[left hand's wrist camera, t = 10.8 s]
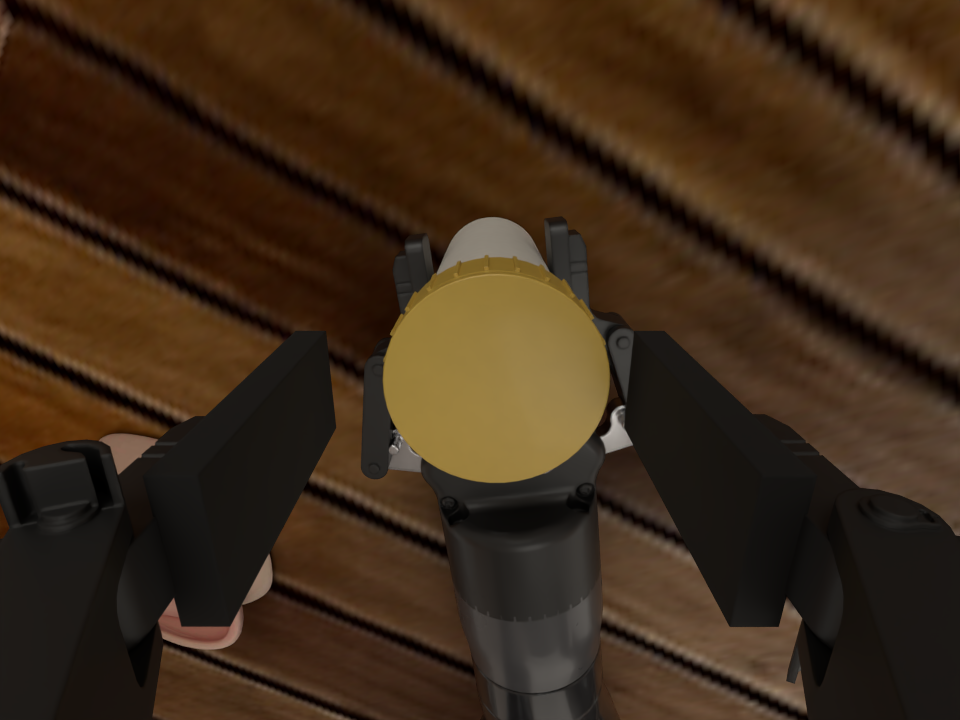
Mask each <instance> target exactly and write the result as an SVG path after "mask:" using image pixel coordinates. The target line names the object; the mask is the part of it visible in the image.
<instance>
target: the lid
mask: <svg viewBox="0 0 960 720" xmlns="http://www.w3.org/2000/svg"><path fill="white" fill-rule="evenodd" d="M405 311H406V312H405V314H404V315H403V314H401V315H400V317H399V319H398V320H397V322H396V324H395V326H394V328H393V329H392V331H391V333H390V335H391V336H392V338H391V340H390V343H389V346H388V349H387V352H386V355H385V357H384V360H383V362H384V366H383V390H384V397H385V401H386V405H387V409H388V411H389V414H390V416H391V419H392V421H393V423H394V425H395V426H396V428H397V430H398V432H399V433H400V435H401V436H402V437H403V439H404V440H405V441H406V443H407V444H408V445H409V446H410V447H411V448H412V449H413V450H414V451H415V452H416V453H417V454H418V455H420V456H421V457H422V458H423V459H424V460H426V461H427V462H429V463H430V464H432V465H433V466H435V467H437V468H438V469H440V470H442V471H445V472H447V473H449V474H451V475H454V476H457V477H460V478H463V479H467V480H472V481H476V482H486V483H507V482H515V481H520V480H525V479H529V478H532V477H535V476H538V475H541V474H543V473H546V472H548V471H550V470H552V469H554V468H556V467H557V466H559V465H560V464H562V463H563V462H565V461H566V460H568V459H569V458H570V457H571V456H573V455H574V454H575V453H576V452H577V451H578V450H579V449H580V448H581V447H582V446H583V445H584V444H585V443H586V442H587V441H588V439H589V438H590V436H591V435H592V434H593V432H594V431H595V429H596V427H597V426H598V424H599V422H600V420H601V418H602V415H603V413H604V410H605V407H606V404H607V400H608V395H609V389H610V367H609V360H608V356H607V351H606V348H605V345H606V343H605V340H604V339H603V337H602V335H601V334H600V332H599V331H598V329H597V327H596V326H595V324H594V323H593V321H592V320H593V319H594V317H593V315H592V314H591V312H590V311H589V309H588V308H587V306H586V304H585V303H584V301H583V300H582V299H580V300H579V299H578V298H577V297H576V295H575V294H574V293H573V291H572V289H571V288H570V286H569V285H568V283H567V281H566V280H565V279H563V280H562V281H561V280H560V279H559V278H557V277H556V276H555V275H553V274H552V273H550V272H549V271H547V270H545V268H544V266H543V265H541V264H540V265H539V266H537V265H534V264H532V263H529V262H526V261H522V260H518V259H517V257H516V256H513V258H504V257H489V255H485V256H484V258H479V259H473V260H469V261H466V262H463V263H461V261H458V262H457V264H456V265H455V266H453V267H450V268H448V269H446V270H445V271H443V272H441V273H440V274H438V275H437V274H436V273H435V274H433V275H432V278H431V280H430V281H429V282H428V283H427V284H425V286H424V287H423V288H422V289H421V290H420V291H419V292H418V293H417V292H416V291H415V292H414V293H413V295H412V297H411V299H410V301H409V302H408V304H407V306H406V308H405Z"/></svg>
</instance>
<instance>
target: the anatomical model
mask: <svg viewBox="0 0 960 720" xmlns="http://www.w3.org/2000/svg"><path fill="white" fill-rule="evenodd" d="M157 440H158V439H154V438H150V437H145V436H139V435H133V434H122V433H120V434H111V435H107V436H105V437H103V438H101V439H100V440H99V441H102V442H104V443H105V444H107V445H109V446H110V447H111V451H112V455H113V458H114V462H115V466H116V469H117V473H118V475H119V474H120V473H121V472H122V471H123V470H124V469H125V468H127V467H128V466H129V465H130V464H131V463H132V462H133V461H135V460H136V459H137V458H141V454H143V453H144V452H145V451H146V450H147V449H148V448H149V447H151V446H152V445H155V442H156V441H157ZM272 577H273V572H272V563H271V558H270V554H269V555H268V557H267V559H266V560H265V562H264V564H263V566H262V568H261V570H260V572H259V574H258V575H257V577H256V579H255V581H254V583H253V585H252V587H251V589H250V591H249V592H248V594H247V596H246V598H245V600H244V602H243V604H246V603H250V602H252V601H255V600H257V599H259V598H260V597H262V596H263V595H264V594H266V593H267V591H268V590H269V589H270V587H271V584H272ZM243 604H242V605H243ZM158 621H159V625H160V629H161V632H162V638H163V639H166V640H168V641H171V642H173V643H176V644H179V645H182V646H186V647H191V648H197V649H220V648H224V647H227V646H229V645H231V644H233V643H234V642H235V641H236V640H237V639H238V637H239V635H240V633H241V630H242V626H243V608H242V606H241V607H240V609H239V611H238V613H237V615H236V617H235V619H234V621H233V622H232V624H231V626H230V627H181V623H180V620H179V616H178V612H177V608H176V604H175V600H174V598H173V600H172V601H171V603H170V604H169V606H168V607H167V608H166V610H165V611H164V613H163V614H162V616H161V617H160V618H159V620H158Z"/></svg>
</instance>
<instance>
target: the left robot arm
mask: <svg viewBox="0 0 960 720" xmlns="http://www.w3.org/2000/svg"><path fill="white" fill-rule="evenodd" d="M335 429H336V422H335V412H334V403H333V394H332V384H331V375H330V365H329V356H328V346H327V337H326V331H295V332H294V333H293V334H292V335H291V336H290V337H289V338H288V339H287V340H286V341H285V342H284V343H283V344H281V345H280V346H279V347H278V348H277V349H276V350H275V351H274V352H273V353H272V354H271V355H270V356H269V357H268V358H267V359H266V360H265V361H263V362H262V363H261V364H260V365H259V366H258V367H257V368H256V369H255V370H254V371H253V372H252V373H251V374H250V375H249V376H248V377H246V378H245V379H244V380H243V381H242V382H241V383H240V384H239V385H238V386H237V387H236V388H235V389H234V390H233V391H232V392H231V393H230V394H228V395H227V396H226V397H225V398H224V399H223V400H222V401H221V402H220V403H219V404H218V405H217V406H216V407H215V408H214V409H213V410H212V411H210V412H209V413H208V414H207V415H206V416H195V417H193V418H191V419H189V420H187V421H185V422H183V423H181V424H179V425H177V426H175V427H173V428H171V429H170V430H169V431H168V432H166V433H165V434H164V435H163V436H162V437H161V438H160V439H159V440H157V441H156V442H155V445H152V446H151V447H149V448H148V449H147V450H146V451H145V452H144V453H143V454H141V458H137V459H136V460H135V461H133V462H132V463H131V464H130V465H129V466H128V467H127V468H125V469H124V470H123V471H122V472H121V473H120V474H119V475H118V473H117V469H116V466H115V462H114V458H113V455H112V451H111V447H110V446H109V445H107V444H105V443H104V442H102V441H94V440H77V441H66V442H61V443H57V444H52V445H48V446H44V447H41V448H38V449H35V450H32V451H29V452H27V453H24V454H21V455H19V456H17V457H15V458H13V459H11V460H10V461H8V462H6V463H4V464H2V465H1V466H0V503H1V506H2V509H3V511H4V514H5V517H6V519H7V522H8V525H9V530H8V532H7V533H6V535H5V537H4V538H3V539H0V720H152V714H153V708H154V701H155V695H156V688H157V682H158V675H159V669H160V662H161V656H162V649H163V638H162V632H161V629H160V625H159V621H158V620H159V618H160V617H161V616H162V614H163V613H164V611H165V610H166V608H167V607H168V606H169V604H170V603H171V601H172V600H173V598H174V600H175V604H176V608H177V612H178V616H179V620H180V623H181V627H230V626H231V624H232V622H233V621H234V619H235V617H236V615H237V613H238V611H239V609H240V607H241V606H242V604H243V602H244V600H245V598H246V596H247V594H248V592H249V591H250V589H251V587H252V585H253V583H254V581H255V579H256V577H257V575H258V574H259V572H260V570H261V568H262V566H263V564H264V562H265V560H266V559H267V557H268V555H269V553H270V551H271V549H272V547H273V545H274V544H275V542H276V540H277V538H278V536H279V534H280V532H281V530H282V528H283V527H284V525H285V523H286V521H287V519H288V517H289V515H290V513H291V512H292V510H293V508H294V506H295V504H296V502H297V500H298V498H299V497H300V495H301V493H302V491H303V489H304V487H305V485H306V483H307V481H308V480H309V478H310V476H311V474H312V472H313V470H314V468H315V466H316V465H317V463H318V461H319V459H320V457H321V455H322V453H323V451H324V450H325V448H326V446H327V444H328V442H329V440H330V438H331V436H332V434H333V433H334V431H335ZM624 429H625V431H626V433H627V434H628V436H629V438H630V440H631V442H632V444H633V446H634V448H635V450H636V451H637V453H638V455H639V457H640V459H641V461H642V463H643V465H644V466H645V468H646V470H647V472H648V474H649V476H650V478H651V480H652V481H653V483H654V485H655V487H656V489H657V491H658V493H659V495H660V497H661V498H662V500H663V502H664V504H665V506H666V508H667V510H668V512H669V513H670V515H671V517H672V519H673V521H674V523H675V525H676V527H677V528H678V530H679V532H680V534H681V536H682V538H683V540H684V542H685V544H686V545H687V547H688V549H689V551H690V553H691V555H692V557H693V559H694V560H695V562H696V564H697V566H698V568H699V570H700V572H701V574H702V575H703V577H704V579H705V581H706V583H707V585H708V587H709V589H710V591H711V592H712V594H713V596H714V598H715V600H716V602H717V604H718V606H719V607H720V609H721V611H722V613H723V615H724V617H725V619H726V621H727V622H728V624H729V626H730V627H779V623H780V619H781V616H782V612H783V608H784V604H785V600H786V596H787V597H788V598H789V600H790V601H791V603H792V604H793V605H794V607H795V608H796V610H797V611H798V613H799V614H800V615H801V617H802V621H801V625H800V629H799V632H798V636H797V639H796V643H795V647H794V650H793V654H792V658H791V661H790V665H789V668H788V674H787V680H786V681H788V682H791V683H794V684H795V681H796V677H797V674H798V672H799V671H800V670H801V674H802V680H803V687H804V693H805V700H806V706H807V713H808V719H809V720H960V536H956V535H955V534H954V532H953V531H952V529H951V527H950V526H949V525H948V524H947V523H946V522H945V521H944V520H943V519H942V518H941V517H940V516H939V515H937V514H936V513H934V512H933V511H931V510H930V509H928V508H926V507H925V506H923V505H922V504H919V503H917V502H914V501H912V500H910V499H907V498H905V497H903V496H900V495H896V494H893V493H889V492H885V491H881V490H875V489H866V488H859V487H858V486H857V485H856V484H855V483H854V482H852V481H851V480H850V479H849V478H848V477H847V476H846V475H844V474H843V473H842V472H841V471H840V470H839V469H838V468H836V467H835V466H834V465H833V464H832V463H831V462H830V461H828V460H827V459H826V458H825V457H824V456H819V452H818V451H817V450H816V449H815V448H813V447H812V446H811V445H810V444H809V443H806V442H805V440H804V439H803V438H802V437H801V436H800V435H798V434H797V433H796V432H795V431H794V430H793V429H792V428H790V427H789V426H787V425H785V424H783V423H781V422H779V421H777V420H775V419H773V418H771V417H769V416H767V415H765V414H752V413H751V412H750V411H748V410H747V409H746V408H745V407H744V406H743V405H742V404H741V403H740V402H739V401H738V400H737V399H736V398H735V397H734V396H733V395H732V394H730V393H729V392H728V391H727V390H726V389H725V388H724V387H723V386H722V385H721V384H720V383H719V382H718V381H717V380H716V379H715V378H714V377H712V376H711V375H710V374H709V373H708V372H707V371H706V370H705V369H704V368H703V367H702V366H701V365H700V364H699V363H698V362H697V361H695V360H694V359H693V358H692V357H691V356H690V355H689V354H688V353H687V352H686V351H685V350H684V349H683V348H682V347H681V346H680V345H679V344H677V343H676V342H675V341H674V340H673V339H672V338H671V337H670V336H669V335H668V334H667V333H666V332H665V331H634V337H633V346H632V356H631V365H630V375H629V384H628V394H627V403H626V412H625V422H624Z"/></svg>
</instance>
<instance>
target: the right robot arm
mask: <svg viewBox="0 0 960 720" xmlns="http://www.w3.org/2000/svg"><path fill="white" fill-rule="evenodd" d="M544 223H545V237H546V250H547V262H548V270H549V272H550V273H552V274H553V275H555V276H556V277H557V278H559V279H560V280H561V281H562V280H563V279H565V280H566V281H567V283H568V285H569V286H570V288H571V289H572V291H573V293H574V294H575V295H576V297H577V298H578V299H579V300H580V299H582V300H583V301H584V303H585V304H586V306H587V308H588V309H589V311H590V312H591V314H592V315H593V317H594V319H593V320H592V321H593V323H594V324H595V326H596V327H597V329H598V331H599V332H600V334H601V335H602V337H603V339H604V340H605V343H606V345H605V348H606V351H607V356H608V360H609V367H610V371H611V374H612V377H613V380H614V383H615V387H616V390H617V393H618V396H619V397H618V398H614V399H612V400H611V401H610V402H609V404H608V405H607V408H606V412H607V418H606V421H605V422H604V423H603V424H602V425H601V426H599V427H597V428H596V429H595V431H594V432H593V434H592V435H591V436H590V438H589V439H588V441H587V442H586V443H585V444H584V445H583V446H582V447H581V448H580V449H579V450H578V451H577V452H576V453H575V454H574V455H573V456H571V457H570V458H569V459H568V460H566V461H565V462H563V463H562V464H560V465H559V466H557V467H556V468H554V469H552V470H550V471H548V472H546V473H543V474H541V475H538V476H535V477H532V478H529V479H525V480H520V481H515V482H507V483H486V482H476V481H472V480H467V479H463V478H460V477H457V476H454V475H451V474H449V473H447V472H445V471H442V470H440V469H438V468H437V467H435V466H433V465H432V464H430V463H429V462H427V461H426V460H424V459H423V458H422V457H421V456H420V455H418V454H417V453H416V452H415V451H414V450H413V449H412V448H411V447H410V446H409V445H408V444H407V443H406V441H405V440H404V439H403V437H402V436H401V435H400V433H399V432H398V430H397V428H396V426H395V425H394V423H393V421H392V419H391V416H390V414H389V411H388V409H387V405H386V401H385V397H384V390H383V366H384V362H383V360H384V357H385V355H386V352H387V349H388V346H389V343H390V340H391V338H384V339H381V340H380V341H379V342H378V343H377V345H376V347H375V349H374V352H373V354H372V355H371V356H370V357H369V359H368V360H367V362H366V364H365V369H364V397H363V425H362V453H361V470H362V472H363V474H364V475H365V476H367V477H368V478H371V479H380V478H382V477H384V476H385V475H386V473H387V471H388V469H393V470H403V471H413V472H421V473H422V475H423V478H424V479H425V481H426V482H427V483H428V484H429V485H430V486H431V487H432V489H433V490H434V492H435V494H436V496H437V499H438V504H439V509H440V514H441V520H442V525H443V530H444V536H445V541H446V547H447V552H448V558H449V564H450V569H451V575H452V580H453V585H454V591H455V596H456V601H457V607H458V613H459V617H460V621H461V624H462V628H463V631H464V633H465V636H466V639H467V641H468V644H469V647H470V651H471V656H472V661H473V667H474V673H475V678H476V685H477V690H478V696H479V700H480V704H481V707H482V710H483V713H484V714H483V716H482V717H481V719H480V720H620V718H619V715H618V713H617V711H616V709H615V706H614V704H613V701H612V699H611V697H610V694H609V692H608V690H607V688H606V686H605V684H604V682H603V677H602V658H601V643H600V628H601V621H602V610H603V598H602V580H601V562H600V546H599V529H598V512H597V495H596V478H597V474H598V472H599V470H600V468H601V466H602V464H603V463H604V460H605V456H606V453H609V452H613V451H616V450H619V449H622V448H625V447H629V446H632V445H633V444H632V442H631V440H630V438H629V436H628V434H627V433H626V431H625V429H624V422H625V412H626V403H627V394H628V384H629V375H630V365H631V356H632V346H633V337H634V331H633V330H632V329H631V328H630V326H629V325H628V324H627V323H626V322H625V320H624V319H623V318H622V317H621V316H620V315H619V314H617V313H614V312H609V313H603V312H599V311H595V310H593V309H591V308H590V306H589V290H588V273H587V254H586V245H585V243H584V241H583V239H582V237H581V235H580V234H579V233H578V232H577V231H576V230H568V226H567V221H566V220H565V219H564V218H563V217H562V216H561V217H553V218H545V221H544ZM393 274H394V280H395V284H396V290H397V296H398V301H399V307H400V312H401V314H403V315H404V314H405V312H406V311H405V308H406V306H407V304H408V302H409V301H410V299H411V297H412V295H413V293H414V292H415V291H416V292H417V293H418V292H419V291H420V290H421V289H422V288H423V287H424V286H425V284H427V283H428V282H429V281H430V280H431V278H432V275H433V274H434V271H433V264H432V258H431V252H430V245H429V240H428V236H427V233H424V234H416V235H410V236H409V237H408V238H407V239H406V240H405V251H400V253H399V254H398V255H397V256H396V257H395V261H394V266H393Z"/></svg>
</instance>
